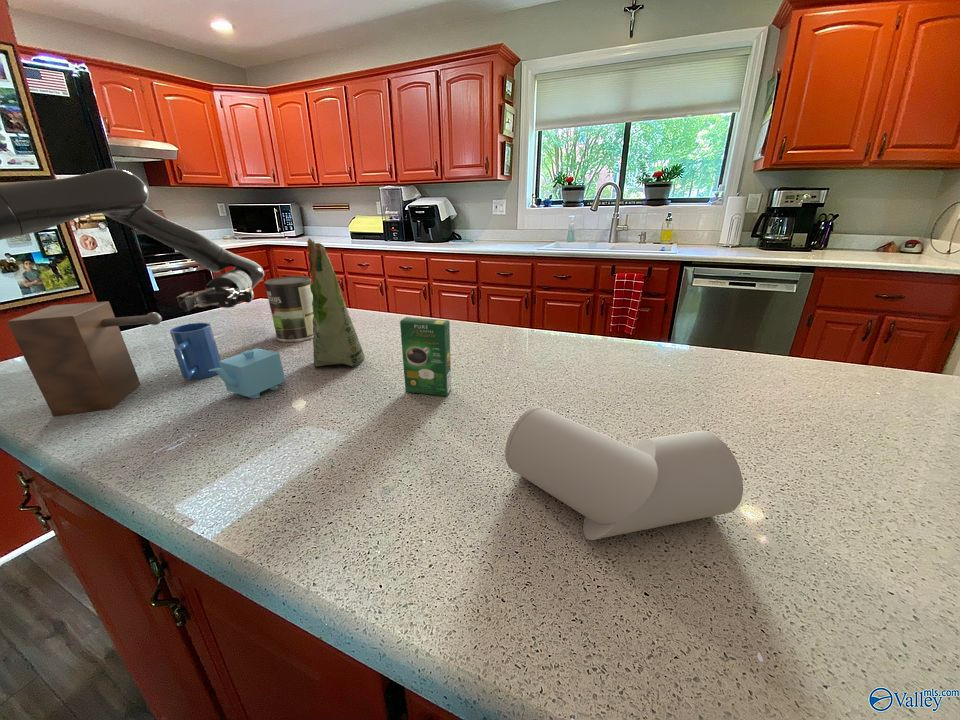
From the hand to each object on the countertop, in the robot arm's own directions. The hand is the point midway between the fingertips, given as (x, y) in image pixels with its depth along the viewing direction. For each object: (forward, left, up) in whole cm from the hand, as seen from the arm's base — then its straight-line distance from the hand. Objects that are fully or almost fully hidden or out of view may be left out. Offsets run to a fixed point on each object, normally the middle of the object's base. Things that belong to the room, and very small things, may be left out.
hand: (207, 304), depth 85 cm
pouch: (+25, -14, -11) cm, 31 cm away
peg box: (-10, -18, -11) cm, 24 cm away
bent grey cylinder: (+55, -66, -11) cm, 87 cm away
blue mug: (0, -14, -11) cm, 18 cm away
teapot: (+11, -24, -11) cm, 29 cm away
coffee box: (+41, -34, -11) cm, 55 cm away
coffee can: (+15, +8, -11) cm, 21 cm away
